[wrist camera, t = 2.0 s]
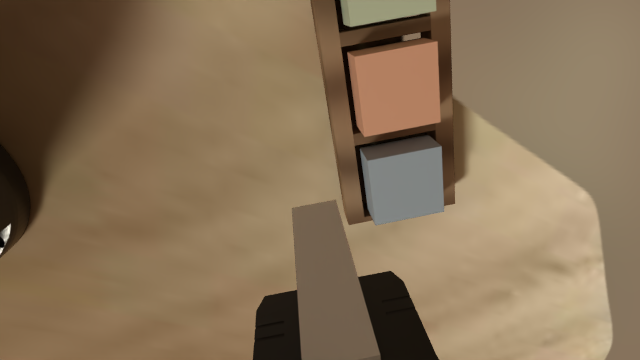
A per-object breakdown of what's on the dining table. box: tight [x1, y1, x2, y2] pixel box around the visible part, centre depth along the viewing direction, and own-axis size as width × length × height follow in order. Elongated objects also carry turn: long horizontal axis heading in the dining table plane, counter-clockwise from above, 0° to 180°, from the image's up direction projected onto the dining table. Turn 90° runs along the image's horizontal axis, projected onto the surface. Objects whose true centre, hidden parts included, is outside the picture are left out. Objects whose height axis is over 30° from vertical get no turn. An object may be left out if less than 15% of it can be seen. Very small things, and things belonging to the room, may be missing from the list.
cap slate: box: [360, 135, 444, 225], centre depth 34 cm, size 6×6×3 cm
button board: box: [311, 0, 455, 225], centre depth 33 cm, size 24×10×2 cm, turn 9°
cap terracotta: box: [347, 38, 441, 137], centre depth 31 cm, size 6×6×3 cm
